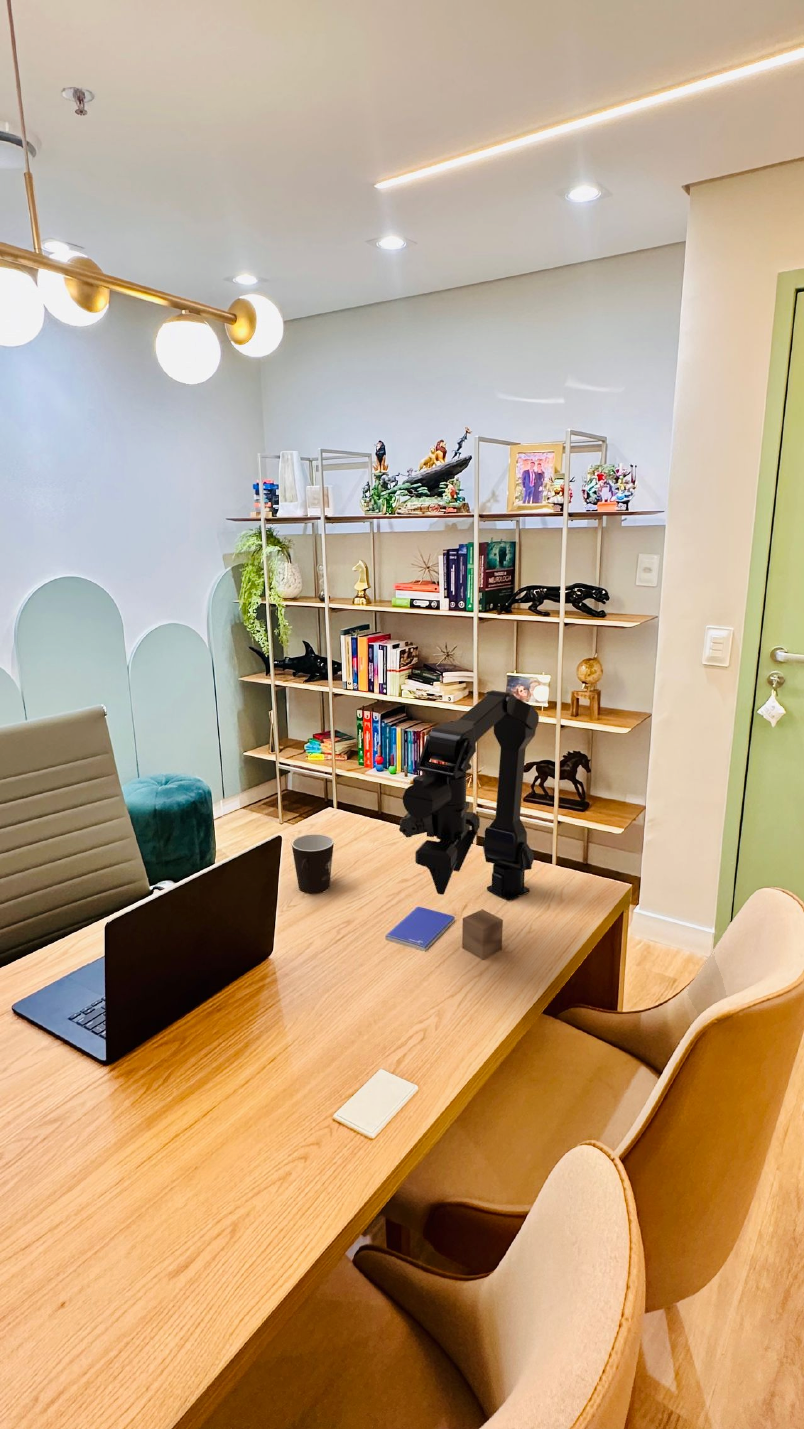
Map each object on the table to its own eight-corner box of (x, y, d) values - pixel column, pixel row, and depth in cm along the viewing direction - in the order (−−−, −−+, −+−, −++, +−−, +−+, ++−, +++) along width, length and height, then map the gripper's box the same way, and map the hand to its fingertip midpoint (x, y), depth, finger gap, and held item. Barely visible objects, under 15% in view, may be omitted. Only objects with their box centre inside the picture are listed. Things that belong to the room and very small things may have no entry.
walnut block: (481, 938, 142) (482, 909, 140) (501, 950, 138) (502, 919, 137) (462, 948, 139) (462, 918, 137) (482, 960, 135) (483, 929, 134)
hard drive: (425, 946, 137) (454, 915, 148) (385, 934, 141) (416, 905, 152) (424, 954, 138) (454, 923, 148) (385, 942, 142) (416, 912, 152)
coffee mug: (312, 873, 168) (311, 830, 165) (343, 884, 163) (342, 840, 160) (274, 894, 158) (272, 849, 156) (305, 906, 154) (303, 859, 151)
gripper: (423, 777, 144) (423, 853, 149) (385, 813, 128) (386, 898, 132) (481, 783, 141) (479, 862, 145) (450, 822, 124) (449, 910, 128)
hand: (448, 882), depth 137 cm, fingers open, 9 cm apart
